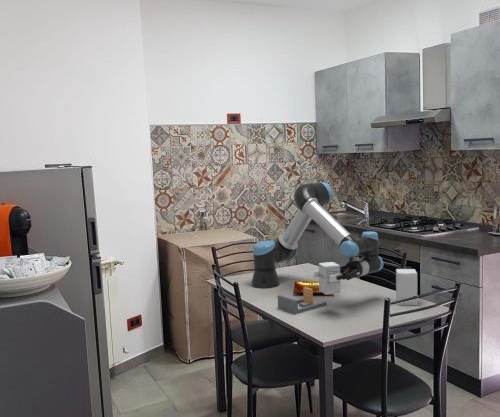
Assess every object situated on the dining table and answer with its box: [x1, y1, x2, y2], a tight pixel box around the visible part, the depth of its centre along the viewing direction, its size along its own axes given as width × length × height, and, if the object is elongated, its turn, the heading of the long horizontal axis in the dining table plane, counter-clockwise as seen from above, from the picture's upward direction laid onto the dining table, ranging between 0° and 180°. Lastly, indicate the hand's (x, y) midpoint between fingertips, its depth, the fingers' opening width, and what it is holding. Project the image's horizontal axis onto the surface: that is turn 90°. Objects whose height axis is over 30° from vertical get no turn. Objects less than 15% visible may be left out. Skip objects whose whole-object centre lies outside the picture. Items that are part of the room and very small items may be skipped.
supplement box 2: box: [395, 268, 418, 306], centre depth 239 cm, size 9×9×15 cm
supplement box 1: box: [318, 261, 341, 296], centre depth 228 cm, size 7×7×13 cm
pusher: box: [298, 286, 314, 308], centre depth 241 cm, size 5×5×8 cm
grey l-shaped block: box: [277, 294, 328, 315], centre depth 239 cm, size 12×20×6 cm, turn 127°
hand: (322, 277), depth 225 cm, fingers closed on supplement box 1, 9 cm apart
